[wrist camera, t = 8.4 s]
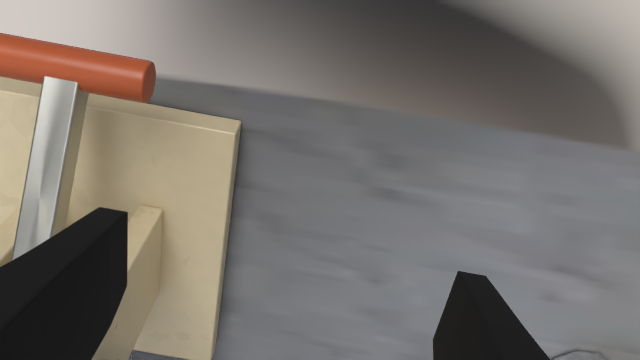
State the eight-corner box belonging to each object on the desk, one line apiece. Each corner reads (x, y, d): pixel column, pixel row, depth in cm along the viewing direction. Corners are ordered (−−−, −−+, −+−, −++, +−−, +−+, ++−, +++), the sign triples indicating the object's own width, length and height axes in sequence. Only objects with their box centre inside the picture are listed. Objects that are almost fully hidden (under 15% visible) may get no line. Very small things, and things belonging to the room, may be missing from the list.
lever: (12, 39, 19) (-30, 22, 17) (162, 68, 20) (142, 54, 17) (-48, 384, 20) (-98, 414, 17) (101, 410, 20) (73, 443, 17)
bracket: (-20, 71, 22) (-259, 212, 14) (241, 120, 23) (166, 287, 14) (9, 308, 28) (-145, 508, 20) (216, 344, 28) (152, 558, 20)
